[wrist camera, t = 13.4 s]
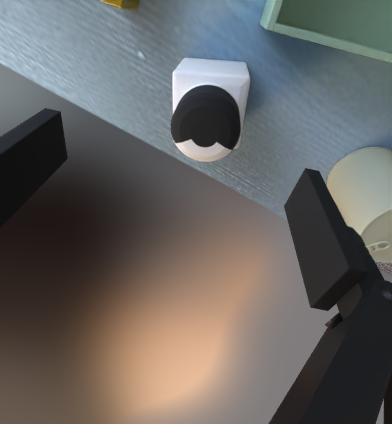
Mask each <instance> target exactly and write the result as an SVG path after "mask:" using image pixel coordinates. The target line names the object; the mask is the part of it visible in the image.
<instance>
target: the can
mask: <svg viewBox="0 0 392 424" xmlns="http://www.w3.org/2000/svg"><path fill="white" fill-rule="evenodd" d="M327 188H328V190H329V192H330V194H331V196H332V198H333V199H334V201H335V203H336V204H337V206H338V208H339V210H340V212H341V214H342V216H343V218H344V220H345V221H346V223H347V225H348V226H349V227H352V228H353V229H354V230H355V231H356V232H357V233H358V234H359V235H360V236H361V237H362V239H363V241H364V243H365V245H366V246H365V247H367V249H368V250H369V252H370V253H369V254H370V255H371V256H372V258H373V260H374V261H377V262H382V263H392V150H390V149H387V148H384V147H367V148H362V149H359V150H356V151H354V152H352V153H350V154H348V155H347V156H345V157H343V158H342V159H341V160H340V161H339V162H338V163H337V164H336V165H335V166H334V167H333V168H332V170H331V171H330V173H329V176H328V179H327Z"/></svg>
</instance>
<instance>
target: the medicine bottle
mask: <svg viewBox="0 0 392 424" xmlns="http://www.w3.org/2000/svg"><path fill="white" fill-rule="evenodd" d="M249 86H250V75H249V71H248V68H247V64H246V63H245V62H238V61H225V60H212V59H199V58H183V59H182V61H181V62H180V63H179V65H178V66H177V67H176V69H175V70H174V71H173V116H172V120H171V134H172V137H173V141H174V143H175V144H176V145H177V147H178V148H179V149H180V151H182V152H183V153H184V154H185V155H186V156H188V157H190V158H192V159H195V160H198V161H214V160H218V159H221V158H223V157H224V156H226V155H227V154H229V153H230V152H231V151H232V150H233V149H237V148H238V147H239V145H240V139H241V133H242V127H243V121H244V115H245V109H246V104H247V98H248V92H249Z"/></svg>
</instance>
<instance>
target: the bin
mask: <svg viewBox="0 0 392 424" xmlns="http://www.w3.org/2000/svg"><path fill="white" fill-rule="evenodd" d="M259 24H260V25H261V26H262V27H264V28H265V29H266V30H268V31H273V32H276V33H280V34H283V35H287V36H291V37H295V38H299V39H302V40H306V41H310V42H314V43H317V44H321V45H325V46H329V47H333V48H336V49H340V50H344V51H348V52H351V53H355V54H359V55H363V56H367V57H370V58H374V59H378V60H382V61H385V62H389V63H392V0H266V2H265V6H264V9H263V13H262V16H261V19H260V23H259Z"/></svg>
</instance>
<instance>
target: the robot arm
mask: <svg viewBox="0 0 392 424" xmlns="http://www.w3.org/2000/svg"><path fill="white" fill-rule="evenodd" d="M66 160H67V151H66V145H65V138H64V131H63V125H62V118H61V112H60V111H55V110H51V109H47V108H45V109H43V110H42V111H40V112H39V113H37V114H35V115H34V116H32V117H31V118H29V119H28V120H26V121H25V122H23V123H21V124H20V125H18V126H17V127H15V128H13V129H12V130H10V131H9V132H7V133H6V134H4V135H3V136H1V137H0V228H1V227H2V226H3V225H4V224H5V223H6V222H7V221H8V220H9V219H10V218H11V217H12V216H13V215H14V214H15V213H16V212H17V211H18V210H19V209H20V207H21V206H22V205H23V204H24V203H25V202H26V201H27V200H28V199H29V198H30V197H31V196H32V195H33V194H34V193H35V192H36V191H37V190H38V189H39V188H40V186H42V185H43V184H44V183H45V182H46V181H47V179H48V178H49V177H50V176H51V175H52V174H53V173H54V172H55V171H56V170H57V169H58V168H59V167H60V166H61V165H62V164H63V163H64V162H65V161H66ZM284 208H285V212H286V215H287V219H288V223H289V227H290V231H291V235H292V238H293V242H294V246H295V249H296V254H297V258H298V261H299V265H300V269H301V273H302V277H303V281H304V284H305V288H306V292H307V296H308V300H309V304H310V307H311V308H316V309H321V310H326V311H328V310H330V309H331V308H332V307H333V306H334V305H335V304H337V306H338V309H339V313H338V314H337V315H336V316H334V317H333V318H332V319H331V320H330V321H329V322H327V323H326V324H325V325H326V326H327V327H328V328H327V329H326V332H325V333H324V335H323V336H322V338H321V339H320V341H319V343H318V344H317V346H316V348H315V349H314V351H313V352H312V354H311V356H310V357H309V359H308V360H307V362H306V364H305V365H304V367H303V369H302V370H301V372H300V374H299V375H298V377H297V378H296V380H295V382H294V383H293V385H292V387H291V388H290V390H289V391H288V393H287V395H286V396H285V398H284V400H283V401H282V403H281V404H280V406H279V408H278V409H277V411H276V413H275V414H274V416H273V417H272V419H271V421H270V422H269V424H376V421H377V417H378V414H379V411H380V408H381V405H382V401H383V399H384V424H392V283H391V282H389V281H385V280H384V278H383V276H382V274H381V273H380V271H379V269H378V267H377V265H376V263H375V261H374V260H373V258H372V256H371V255H370V254H369V253H370V252H369V250H368V249H367V247H365V246H366V245H365V243H364V241H363V239H362V237H361V236H360V235H359V234H358V233H357V232H356V231H355V230H354V229H353V228H352V227H349V226H347V225H346V223H345V221H344V220H343V218H342V216H341V214H340V212H339V210H338V208H337V206H336V204H335V202H334V200H333V198H332V196H331V194H330V192H329V190H328V188H327V186H326V184H325V182H324V180H323V178H322V176H321V174H320V172H319V171H316V170H312V169H308V168H305V170H304V172H303V173H302V175H301V177H300V179H299V181H298V182H297V184H296V186H295V188H294V190H293V191H292V193H291V195H290V197H289V198H288V200H287V202H286V204H285V206H284Z"/></svg>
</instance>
